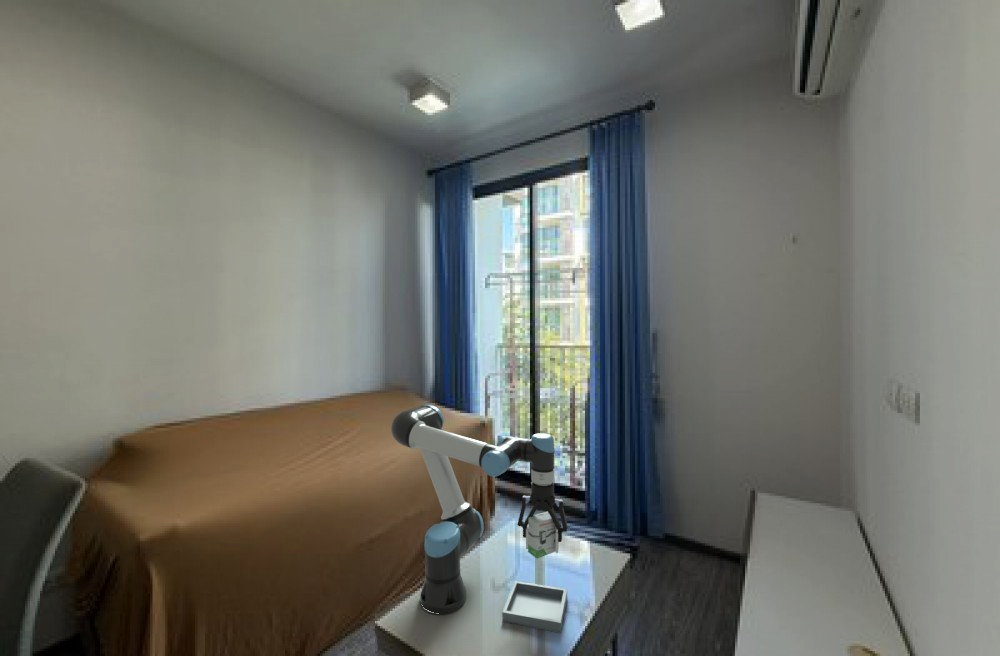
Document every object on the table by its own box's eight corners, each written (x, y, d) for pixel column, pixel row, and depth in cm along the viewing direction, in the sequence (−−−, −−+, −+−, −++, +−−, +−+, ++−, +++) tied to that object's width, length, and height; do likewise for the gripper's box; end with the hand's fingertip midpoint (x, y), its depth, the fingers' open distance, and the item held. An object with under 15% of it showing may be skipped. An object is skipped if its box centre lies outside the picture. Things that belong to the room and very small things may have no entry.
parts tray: (502, 621, 125) (502, 612, 125) (514, 589, 141) (514, 580, 141) (560, 633, 120) (560, 622, 120) (567, 598, 136) (567, 589, 136)
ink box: (536, 559, 131) (536, 523, 131) (527, 552, 135) (527, 516, 135) (557, 551, 136) (557, 516, 135) (547, 544, 140) (548, 510, 140)
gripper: (508, 482, 134) (507, 550, 134) (575, 489, 129) (575, 559, 129) (512, 474, 141) (512, 538, 142) (576, 480, 136) (576, 546, 137)
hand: (542, 548), depth 135 cm, fingers closed on ink box, 9 cm apart
